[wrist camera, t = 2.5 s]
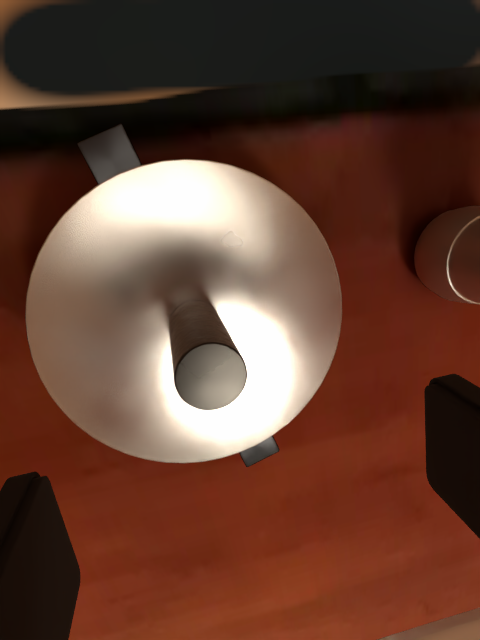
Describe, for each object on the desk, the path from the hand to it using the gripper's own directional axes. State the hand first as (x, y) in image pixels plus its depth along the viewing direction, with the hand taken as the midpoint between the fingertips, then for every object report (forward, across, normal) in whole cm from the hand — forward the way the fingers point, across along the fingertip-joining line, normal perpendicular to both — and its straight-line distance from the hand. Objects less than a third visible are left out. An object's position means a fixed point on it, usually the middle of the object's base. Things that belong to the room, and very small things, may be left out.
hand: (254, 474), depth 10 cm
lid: (+14, 0, 0) cm, 14 cm away
